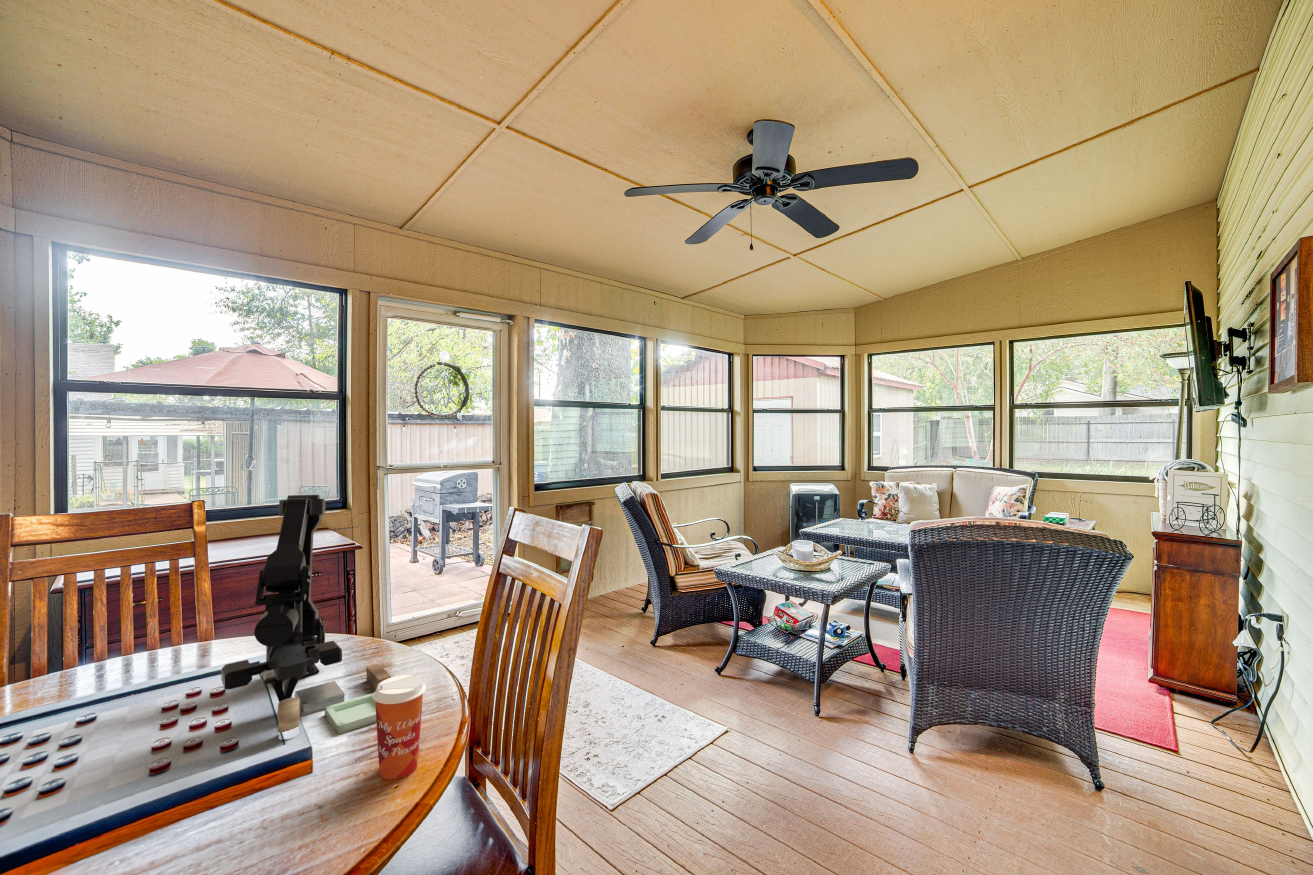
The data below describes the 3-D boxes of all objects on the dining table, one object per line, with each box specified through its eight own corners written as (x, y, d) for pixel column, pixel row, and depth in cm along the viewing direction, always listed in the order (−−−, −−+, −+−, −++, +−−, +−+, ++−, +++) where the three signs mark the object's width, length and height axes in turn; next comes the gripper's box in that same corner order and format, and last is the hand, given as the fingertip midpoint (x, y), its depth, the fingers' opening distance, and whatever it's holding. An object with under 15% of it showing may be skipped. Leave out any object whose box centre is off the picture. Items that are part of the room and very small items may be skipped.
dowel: (276, 734, 100) (276, 701, 100) (297, 728, 103) (297, 695, 103) (279, 742, 98) (280, 708, 98) (301, 735, 100) (301, 702, 100)
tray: (324, 714, 107) (324, 707, 107) (375, 699, 114) (375, 692, 114) (338, 734, 101) (338, 726, 101) (390, 717, 107) (390, 709, 107)
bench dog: (366, 680, 122) (366, 666, 122) (378, 677, 123) (378, 663, 123) (378, 693, 116) (378, 679, 116) (391, 690, 118) (391, 676, 118)
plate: (295, 703, 112) (295, 691, 112) (334, 692, 117) (334, 680, 117) (303, 717, 107) (303, 704, 107) (344, 705, 112) (344, 692, 112)
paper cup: (372, 789, 86) (373, 699, 86) (371, 762, 93) (372, 678, 93) (427, 775, 90) (428, 689, 89) (423, 750, 97) (423, 669, 96)
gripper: (229, 652, 95) (228, 743, 96) (350, 627, 108) (349, 707, 108) (221, 633, 103) (220, 717, 104) (334, 612, 116) (334, 686, 117)
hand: (284, 707), depth 108 cm, fingers closed
